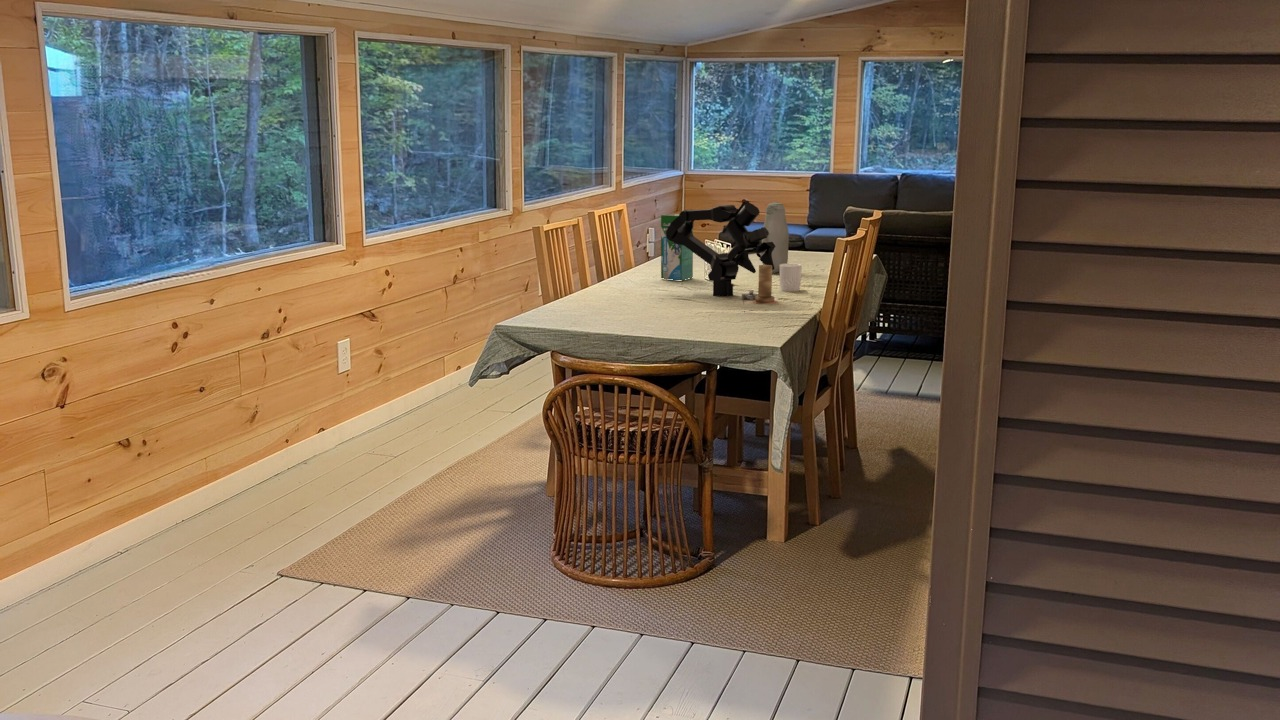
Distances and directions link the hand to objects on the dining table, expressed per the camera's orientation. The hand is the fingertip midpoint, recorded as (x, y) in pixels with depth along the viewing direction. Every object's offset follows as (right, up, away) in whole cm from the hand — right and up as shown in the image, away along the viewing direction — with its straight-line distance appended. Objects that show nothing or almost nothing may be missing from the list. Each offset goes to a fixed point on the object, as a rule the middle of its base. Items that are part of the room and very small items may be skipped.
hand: (764, 271), depth 376 cm
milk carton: (-27, +1, +59) cm, 65 cm away
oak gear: (0, -10, +2) cm, 10 cm away
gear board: (-1, -10, +5) cm, 12 cm away
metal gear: (-4, -9, +8) cm, 12 cm away
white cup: (+12, -6, +26) cm, 29 cm away
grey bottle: (+12, +5, +73) cm, 74 cm away
